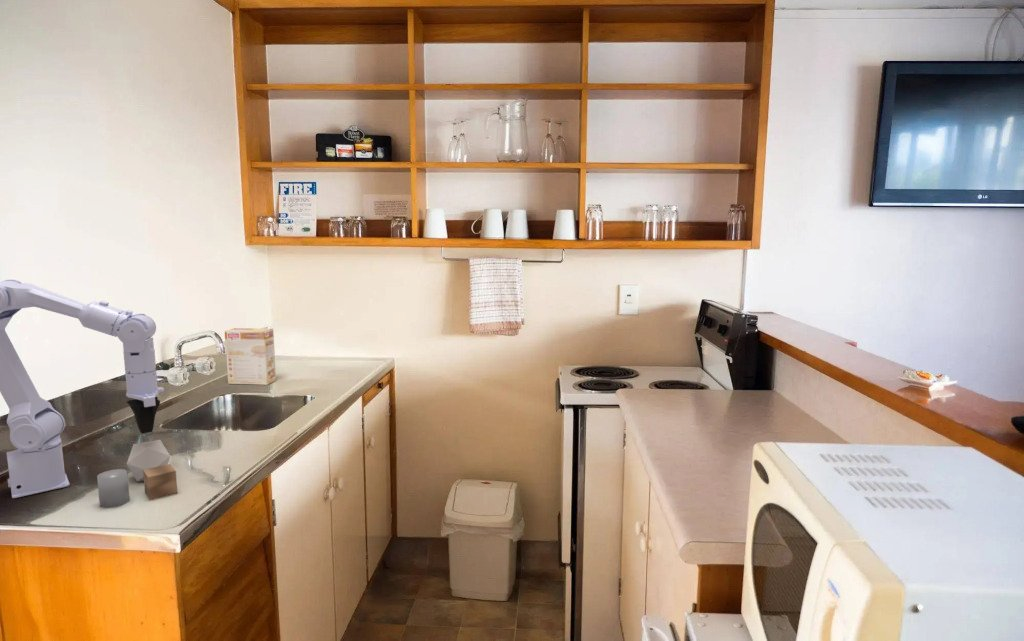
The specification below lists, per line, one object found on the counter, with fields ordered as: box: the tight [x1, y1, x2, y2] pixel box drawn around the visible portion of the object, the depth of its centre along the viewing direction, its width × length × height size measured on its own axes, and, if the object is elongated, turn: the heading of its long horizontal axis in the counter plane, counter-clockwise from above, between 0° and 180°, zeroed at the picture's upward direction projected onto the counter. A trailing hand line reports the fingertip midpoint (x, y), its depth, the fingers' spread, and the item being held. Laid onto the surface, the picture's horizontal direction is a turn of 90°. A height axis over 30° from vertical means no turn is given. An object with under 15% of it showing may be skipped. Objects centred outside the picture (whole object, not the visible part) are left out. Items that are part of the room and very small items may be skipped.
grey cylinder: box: [96, 468, 131, 509], centre depth 121 cm, size 5×5×6 cm
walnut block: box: [143, 463, 178, 501], centre depth 125 cm, size 5×5×5 cm
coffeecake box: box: [224, 327, 277, 386], centre depth 217 cm, size 15×7×20 cm, turn 84°
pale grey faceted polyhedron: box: [126, 439, 171, 483], centre depth 133 cm, size 8×9×10 cm
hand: (146, 431), depth 132 cm, fingers closed
